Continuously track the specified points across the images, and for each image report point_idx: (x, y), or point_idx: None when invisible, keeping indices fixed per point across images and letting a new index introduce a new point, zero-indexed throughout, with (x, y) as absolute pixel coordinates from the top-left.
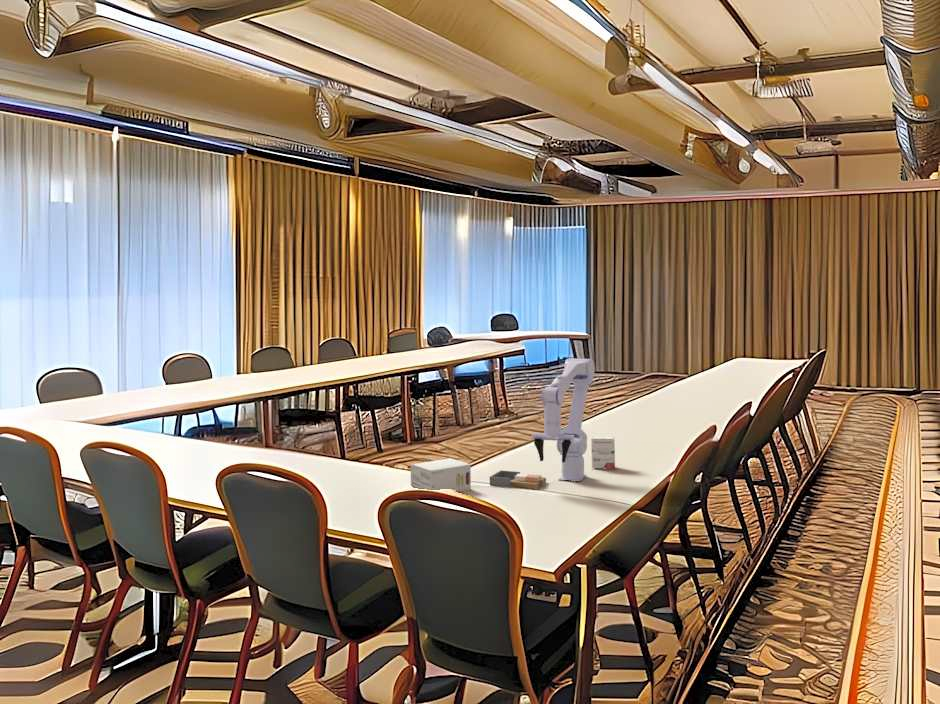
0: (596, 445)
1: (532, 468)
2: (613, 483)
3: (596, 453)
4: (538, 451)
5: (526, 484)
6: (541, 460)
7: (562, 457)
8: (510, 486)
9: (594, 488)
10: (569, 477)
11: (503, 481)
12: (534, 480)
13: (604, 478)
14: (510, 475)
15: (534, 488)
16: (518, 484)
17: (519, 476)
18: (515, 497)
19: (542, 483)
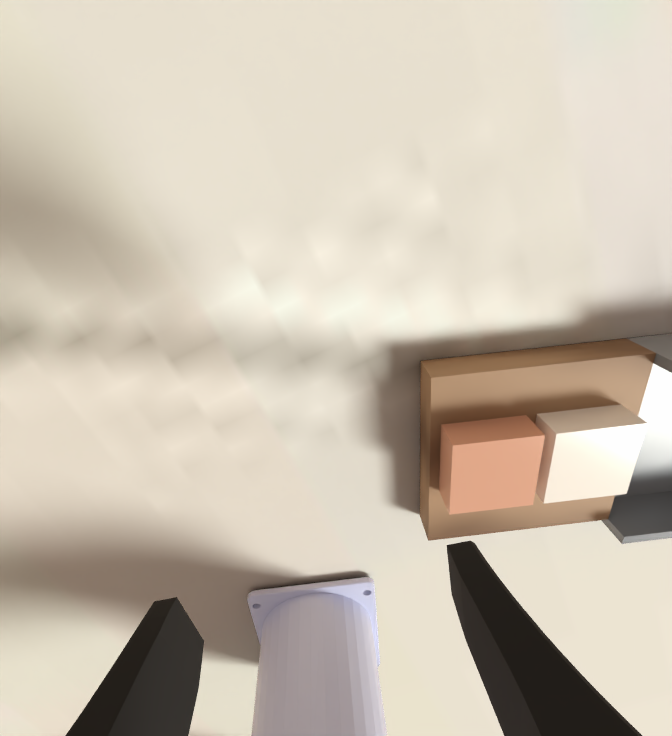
0: None
1: None
2: (78, 635)
3: None
4: (578, 684)
5: (511, 364)
6: (458, 550)
7: (135, 666)
8: (622, 340)
9: (95, 526)
10: (308, 605)
11: None
12: (470, 429)
13: None
14: (666, 507)
15: (438, 360)
16: (572, 354)
17: (606, 427)
18: (511, 17)
19: (423, 471)
